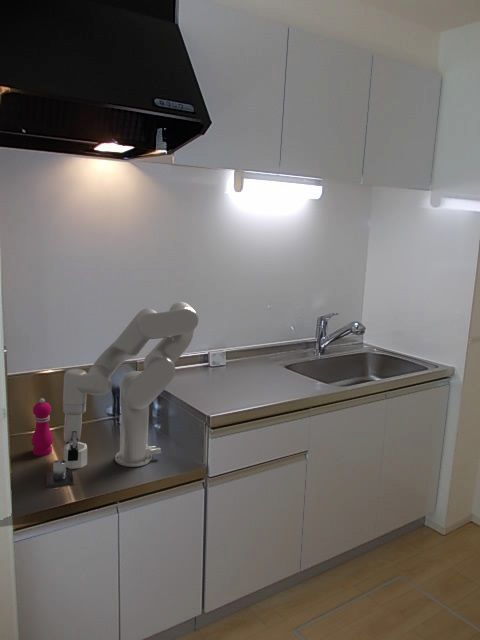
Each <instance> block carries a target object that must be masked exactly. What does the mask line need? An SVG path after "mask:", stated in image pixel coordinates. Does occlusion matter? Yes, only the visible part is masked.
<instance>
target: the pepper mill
mask: <svg viewBox="0 0 480 640" xmlns="http://www.w3.org/2000/svg"><path fill="white" fill-rule="evenodd" d="M32 408H33V409H32V414H33V415H34V421H35V429H34V432H33V434H32V436H31V441H30V443H31V445H32V446H33V447H32V453H33V455H34V456H37V457H38V456H39V457H43V456H44V457H45V456H48V455H50V454H51V453H52V452H53V446H52V445H53V443H54V436H53V434H52V431H51V429H50V426H49V421H50V419H51V418H50V414H51V412H52V406H51V405H50V403H49V402H46V400H45V398H44V397H41V398H40V399H39V401H38V402H37V403H36V404H34V406H33V407H32Z"/></svg>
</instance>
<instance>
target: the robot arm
mask: <svg viewBox="0 0 480 640" xmlns="http://www.w3.org/2000/svg"><path fill="white" fill-rule="evenodd" d="M198 324H199V316H198V313H197V312H196V310H195V309H194V308H193V307H192V306H191V305H190V304H188V303H186V302H184V301H177V302H175V303H173V304H172V305H171V306H170V308H169V310H168V311H162V312H161V311H159V312H157V311H156V310H154V309H152V308H148V307H146V308H143V309H141V310H140V311H139V312H138V313H137V314H136V315H135V316H134V318H132V320H131V321H130V322H129V324H128V325H127V326H126V327H125V329H124V330H123V331H122V332H121V333H120V334H119V335H118V337H117V338H116V339H115V341H113V342H112V344H110V345H109V346H108V347H107V348H106V349H105V350H104V351H103V352H102V353H101V354H100V355H99V357H98V358H97V359H96V360H95V361H94V363H93V364H92V366H91V367H90V368H89V370H88V372H87V371H86V370H84V369H80V368H71V369H68V370H66V371H65V372H64V375H63V395H62V412H63V413H64V426H63V428H64V429H63V440H64V442H65V445H67V444H69V449H68V461H77V460H78V442H80V441H81V435H82V422H83V421H82V420H83V414H85V413H86V411H87V400H88V399H87V397H88V395H93V396H104V395H106V394H108V393H109V392H110V391H111V389H112V378H111V377H112V376H113V374H114V373H115V371H116V370H117V369H118V368H119V367H120V366H121V365H122V364H123V363H124V362H126V361H128V360H130V359H134V358H136V357H137V356H138V354H139V353H140V352H141V351H142V349H143V348H144V347H145V346H146V344H147V343H148V342H149V340H155V339H156V340H157V339H161V340H160V341H159V342H158V343H157V344H156V345H155V347H154V348H152V349H151V350H150V352H148V354H147V355H145V357H144V359H143V368H144V369H143V370H142V371H138V370H133V371H132V370H131V371H128V372H126V374H125V375H124V376H123V378H122V379H121V382H120V386H119V387H120V389H119V390H120V391H119V392H120V421H119V422H120V423H119V424H120V427H119V428H120V432H119V434H120V436H119V451H118V452H117V453H116V454H115V456H114V461H115V462H116V463H117V464H118V465H121V466H123V467H128V468H129V467H130V468H135V467H142V466H145V465H147V464H149V463H150V462H151V461H152V459H153V458H152V457H153V455H154V454H155V455H157V454H162V449H161V447H157V445H153V446H150V445H149V417H150V415H149V414H150V413H149V412H150V405H151V403H153V402H154V400H156V398H157V397H159V395H160V394H161V393H162V392H163V391H164V390H165V389H166V388H167V387H168V386H169V385H170V383H171V382H172V381H173V379H174V377H175V375H176V374H175V373H176V365H175V363H176V362H177V361H178V360H179V358H180V357H181V356H182V355H183V353H184V352H185V351H187V349H188V347H189V346H190V345H191V342H192V339H193V337H194V333H195V332H194V331H195V329H196V328H197V327H198V326H199V325H198ZM71 443H72V445H71Z"/></svg>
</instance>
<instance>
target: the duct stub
mask: <svg viewBox="0 0 480 640" xmlns="http://www.w3.org/2000/svg"><path fill="white" fill-rule="evenodd" d="M52 468H53V469H52V471H45V477H46V478H45V479H46V480H45V481H46V482H45V483H46V484H45V485H46V488H52V487H53V488H54V487H62V486H63V487H64V486H72V485H73V486H74V475H73V470H72V469H69V470H67V467H66V461H64V459H57V460H54V461H53V465H52Z"/></svg>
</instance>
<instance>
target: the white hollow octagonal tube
mask: <svg viewBox="0 0 480 640" xmlns="http://www.w3.org/2000/svg"><path fill="white" fill-rule="evenodd" d="M66 444H67V443H66ZM66 444H64V445H63V460H64V461H66V469H70V470H72V469H81V468H83V467H85V466H87V465H88V445H87V444H86V442H85V443H84V442H80V441H79V442H78V460H77V461H68V449H69V444H67V445H66ZM71 445H72V443H71Z"/></svg>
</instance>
